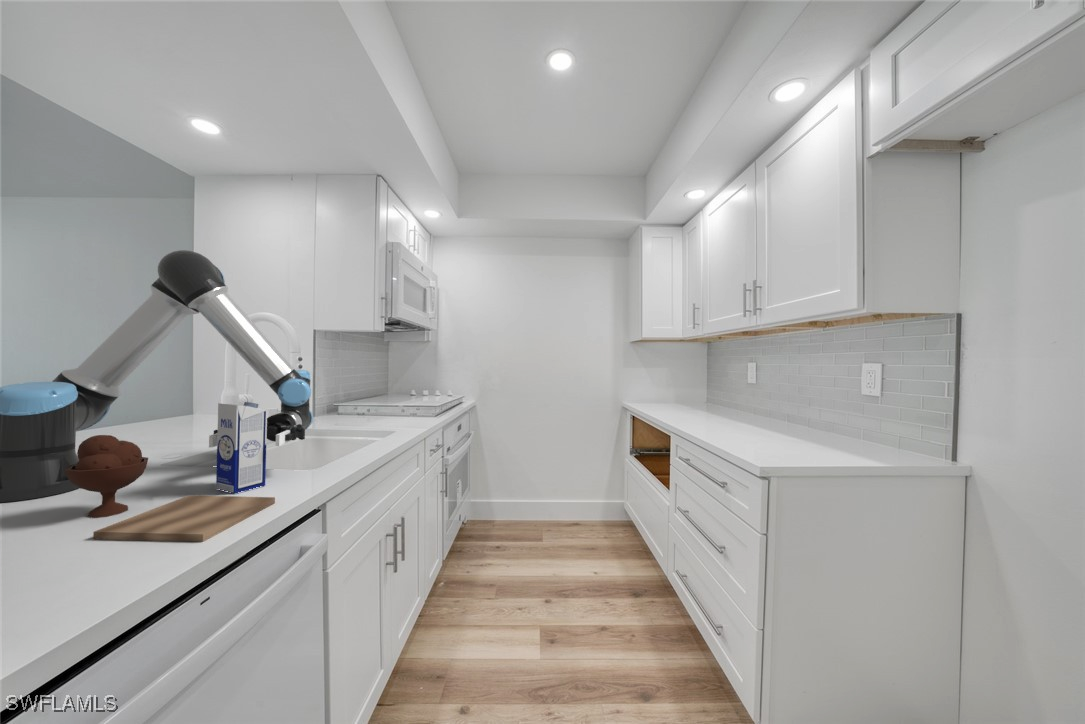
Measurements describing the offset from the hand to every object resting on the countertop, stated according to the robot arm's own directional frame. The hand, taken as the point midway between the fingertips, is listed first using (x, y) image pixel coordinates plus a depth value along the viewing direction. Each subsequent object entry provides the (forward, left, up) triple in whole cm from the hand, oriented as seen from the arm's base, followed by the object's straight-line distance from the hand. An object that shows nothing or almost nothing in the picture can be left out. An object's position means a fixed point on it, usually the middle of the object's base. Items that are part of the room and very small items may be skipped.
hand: (244, 441), depth 93 cm
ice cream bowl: (+1, -21, -11) cm, 24 cm away
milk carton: (0, 0, -11) cm, 11 cm away
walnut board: (+16, -10, -11) cm, 22 cm away
